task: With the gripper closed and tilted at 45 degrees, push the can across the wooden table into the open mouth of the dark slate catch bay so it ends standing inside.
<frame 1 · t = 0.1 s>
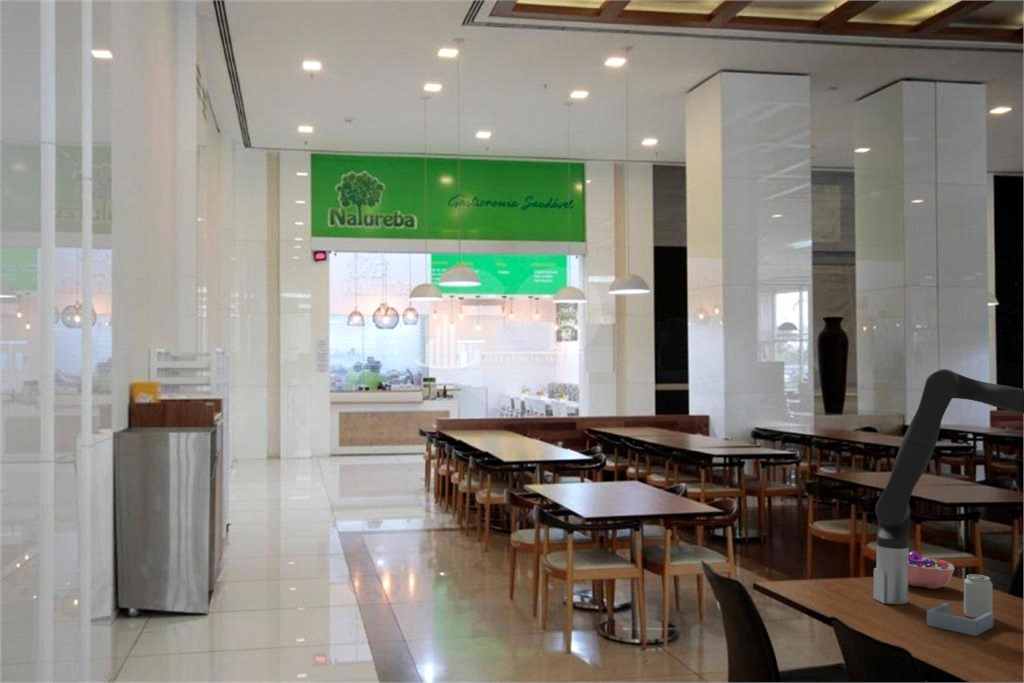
catch bay: (960, 625, 263), on the table
can: (977, 617, 272), on the table
cell model: (923, 587, 306), on the table
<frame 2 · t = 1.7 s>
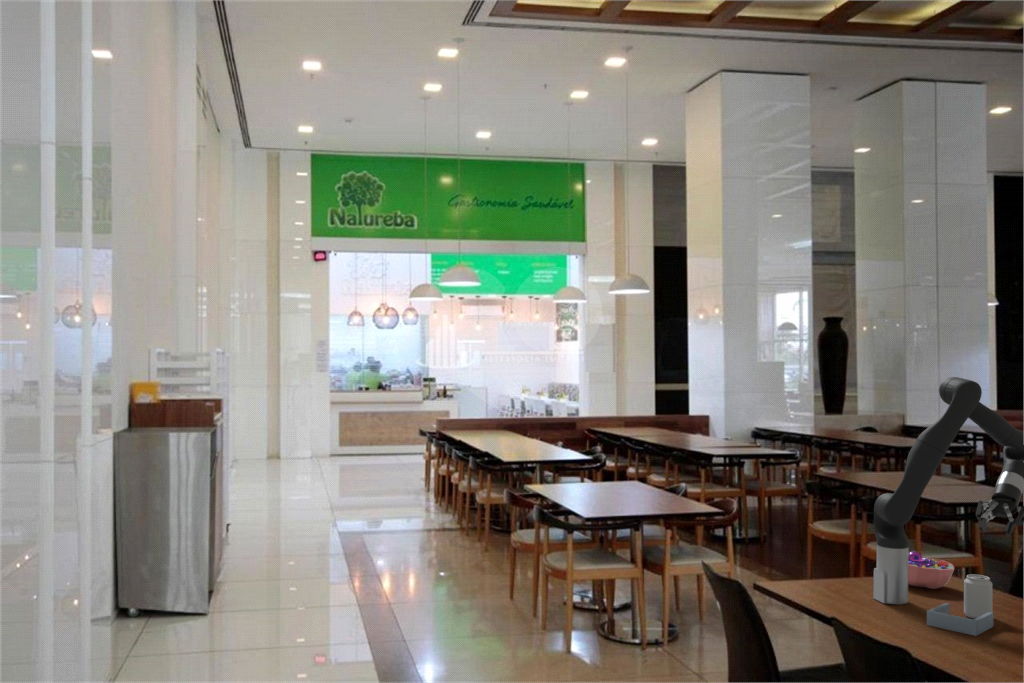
hand: (994, 532, 280), 23 cm above the table, tool tilted 45°, fingers open, 6 cm apart
nothing on the table moved.
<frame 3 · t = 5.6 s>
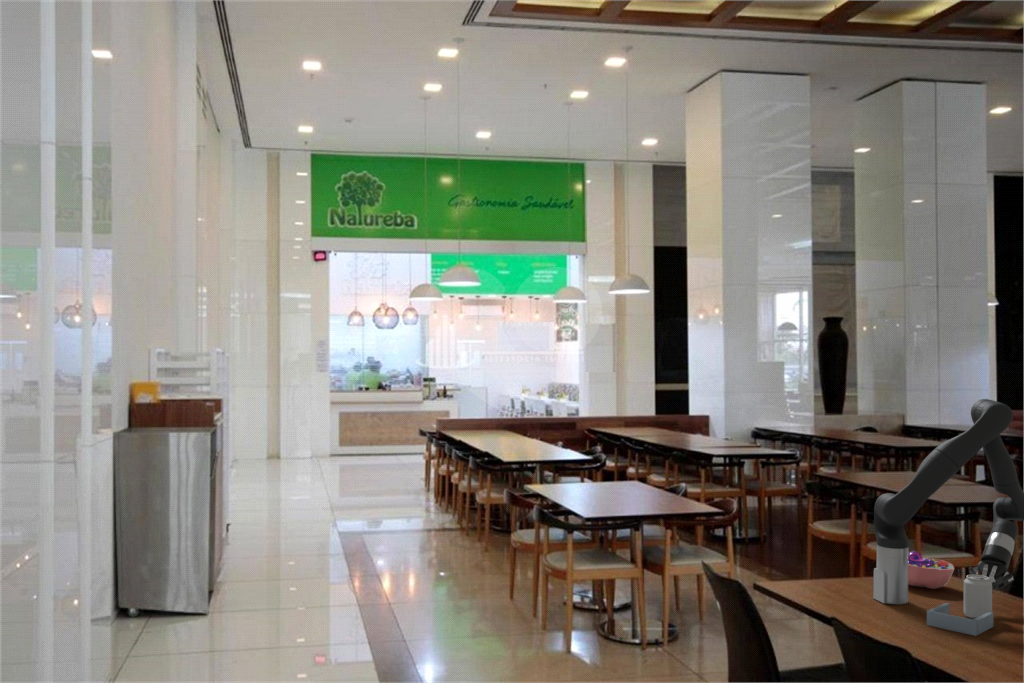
hand: (983, 598, 274), 5 cm above the table, tool tilted 45°, fingers closed
can: (977, 617, 271), on the table, touching gripper
everything else where it was.
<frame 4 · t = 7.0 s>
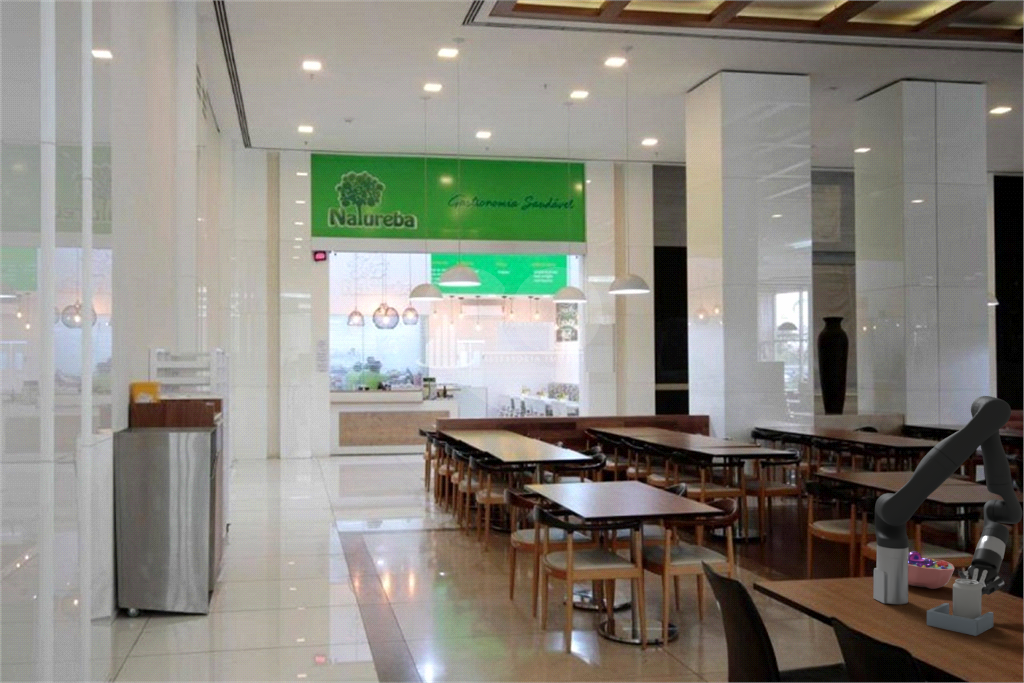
hand: (973, 603, 269), 5 cm above the table, tool tilted 45°, fingers closed
can: (966, 623, 266), on the table, touching gripper
everything else where it was.
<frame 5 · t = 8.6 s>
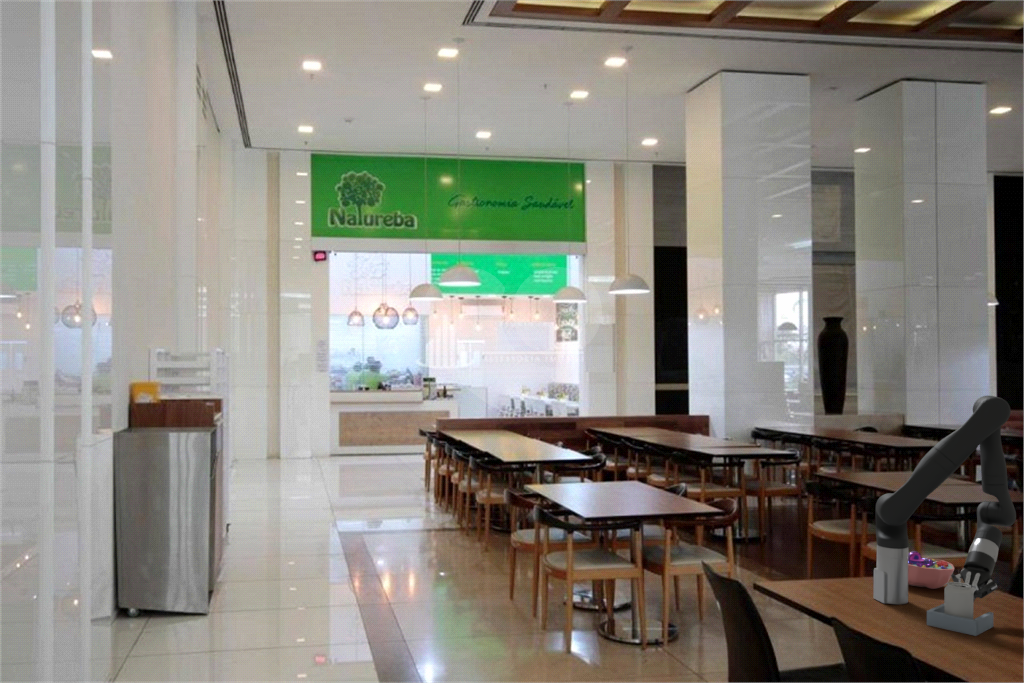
hand: (965, 606, 265), 5 cm above the table, tool tilted 45°, fingers closed
can: (958, 626, 262), on the table, touching gripper
everything else where it was.
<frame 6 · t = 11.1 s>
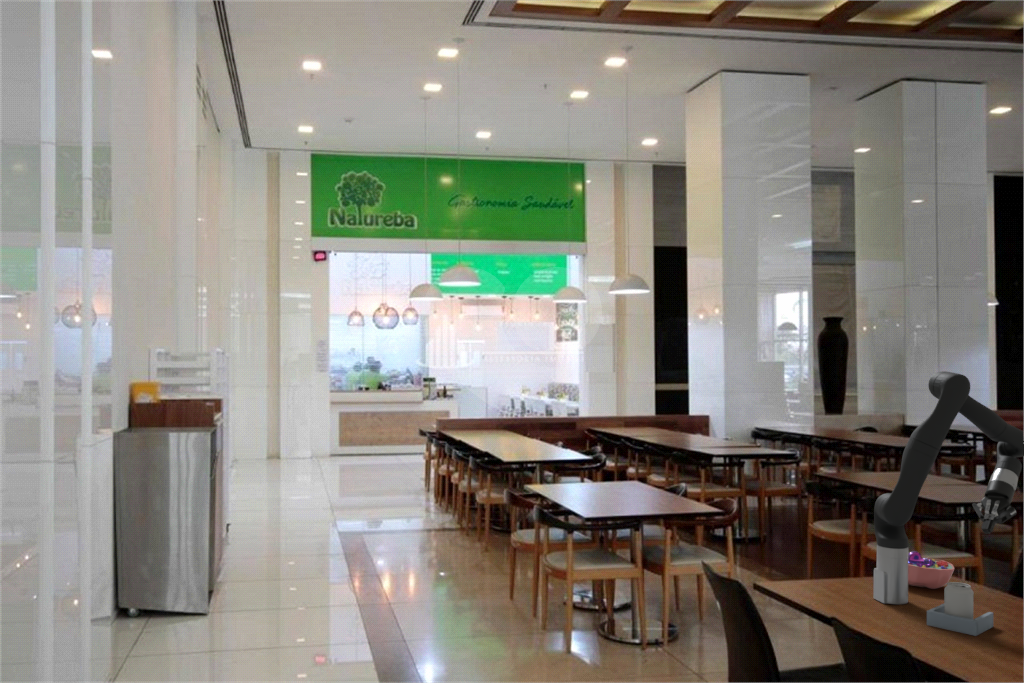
hand: (986, 532, 278), 24 cm above the table, tool tilted 45°, fingers closed
can: (958, 627, 262), on the table
everything else where it was.
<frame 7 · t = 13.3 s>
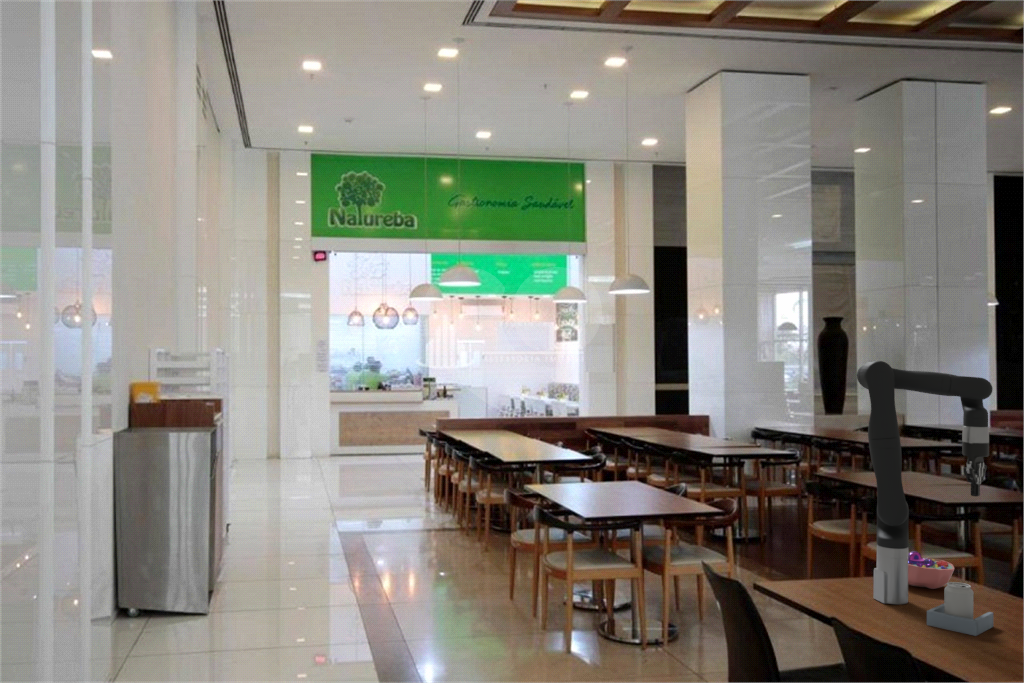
hand: (975, 495, 289), 33 cm above the table, tool pointing down, fingers closed
nothing on the table moved.
at the end: can 1.0 cm from the catch bay (horizontally); can tilted 0°; can moved 14.0 cm from its start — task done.
